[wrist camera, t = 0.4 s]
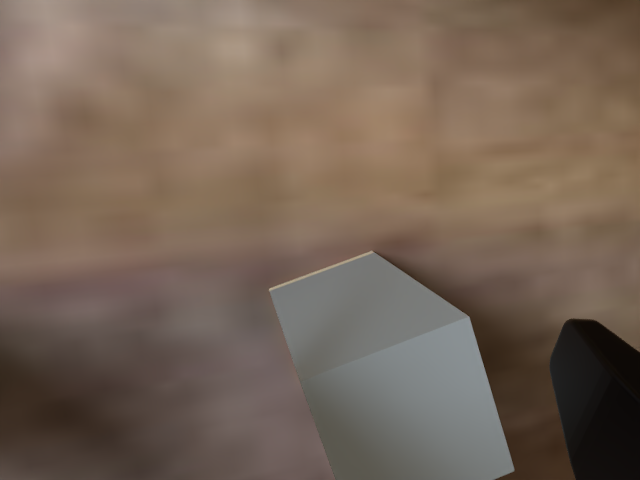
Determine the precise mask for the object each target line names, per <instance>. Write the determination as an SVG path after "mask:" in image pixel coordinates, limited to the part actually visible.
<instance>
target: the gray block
mask: <svg viewBox="0 0 640 480" xmlns="http://www.w3.org/2000/svg"><path fill="white" fill-rule="evenodd" d="M269 291H270V294H271V297H272V300H273V303H274V306H275V309H276V312H277V315H278V318H279V321H280V324H281V327H282V330H283V333H284V336H285V339H286V342H287V345H288V347H289V350H290V353H291V356H292V359H293V362H294V365H295V368H296V371H297V374H298V377H299V380H300V383H301V386H302V389H303V391H304V394H305V397H306V400H307V402H308V405H309V408H310V411H311V413H312V416H313V419H314V422H315V424H316V427H317V430H318V433H319V435H320V438H321V441H322V444H323V446H324V449H325V452H326V455H327V457H328V460H329V463H330V466H331V468H332V471H333V474H334V477H335V479H336V480H494V479H497V478H499V477H501V476H504V475H506V474H509V473H511V472H513V471H515V470H514V466H513V463H512V459H511V456H510V453H509V449H508V446H507V443H506V439H505V436H504V432H503V429H502V426H501V422H500V419H499V416H498V412H497V409H496V405H495V402H494V399H493V395H492V392H491V389H490V385H489V382H488V378H487V375H486V372H485V368H484V365H483V362H482V358H481V355H480V351H479V348H478V345H477V341H476V338H475V335H474V331H473V328H472V325H471V321H470V318H469V316H468V315H466V314H465V313H463V312H462V311H460V310H459V309H457V308H456V307H454V306H453V305H451V304H450V303H448V302H447V301H445V300H444V299H443V298H441V297H440V296H438V295H437V294H435V293H434V292H432V291H431V290H429V289H428V288H426V287H425V286H423V285H422V284H420V283H419V282H417V281H416V280H414V279H413V278H412V277H410V276H409V275H407V274H406V273H404V272H403V271H401V270H400V269H398V268H397V267H395V266H394V265H392V264H391V263H389V262H388V261H386V260H385V259H383V258H382V257H381V256H379V255H378V254H376V253H375V252H373V251H370V252H368V253H365V254H362V255H359V256H357V257H354V258H351V259H348V260H346V261H343V262H340V263H338V264H335V265H332V266H329V267H327V268H324V269H321V270H318V271H316V272H313V273H310V274H308V275H305V276H302V277H299V278H297V279H294V280H291V281H288V282H286V283H283V284H280V285H278V286H275V287H272V288H269Z"/></svg>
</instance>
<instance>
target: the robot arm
mask: <svg viewBox="0 0 640 480" xmlns="http://www.w3.org/2000/svg"><path fill="white" fill-rule="evenodd" d="M550 374H551V379H552V383H553V388H554V392H555V397H556V401H557V406H558V410H559V415H560V420H561V424H562V429H563V433H564V438H565V442H566V447H567V451H568V455H569V459H570V463H571V466H572V469H573V472H574V475H575V478H576V480H640V352H639V351H637V350H636V349H634V348H633V347H632V346H630V345H629V344H628V343H626V342H625V341H624V340H622V339H621V338H619V337H618V336H617V335H615V334H614V333H613V332H611V331H610V330H609V329H607V328H606V327H604V326H603V325H602V324H600V323H599V322H597V321H595V320H591V319H569V320H567V321H566V322H565V323H564V325H563V327H562V330H561V332H560V335H559V337H558V340H557V342H556V345H555V347H554V350H553V352H552V355H551V358H550Z"/></svg>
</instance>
